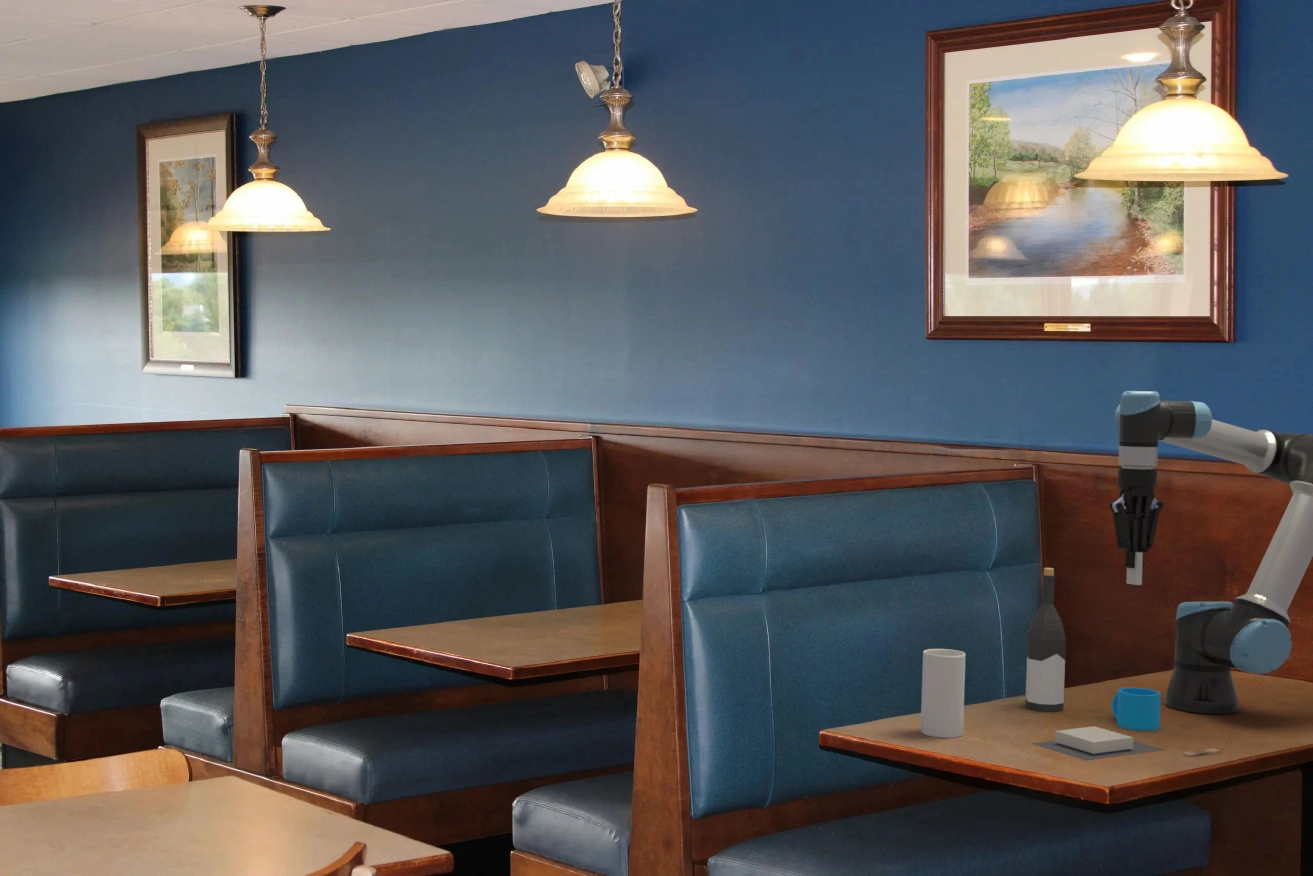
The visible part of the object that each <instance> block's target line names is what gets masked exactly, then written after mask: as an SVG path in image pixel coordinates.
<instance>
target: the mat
mask: <svg viewBox="0 0 1313 876" xmlns="http://www.w3.org/2000/svg"><path fill="white" fill-rule="evenodd" d="M1032 745H1036V746H1038V747H1042V748H1045V749H1049V750H1051V751H1054V752H1058V753H1061V754H1064V755H1068V756H1070V757H1074V758H1076V759H1080V760H1082V761H1083V760H1084V761H1092V760H1098V759H1106V758H1114V757H1121V756H1128V755H1130V756H1131V755H1137V754H1143V753H1144V754H1145V753H1152V752H1159V751H1160V752H1161V751H1165V749H1164V748H1161V747H1157V746H1154V745H1150V744H1147V743H1144V742H1140V741H1137V740H1133V749H1129V750H1126V751H1118V752H1111V753H1103V754H1095V755H1093V754H1089V753H1086V752H1083V751H1080V750H1076V749H1073V748H1070V747H1067V746H1063V745H1060V744H1059V743H1057V742H1055V740H1048V741H1041V742H1032Z"/></svg>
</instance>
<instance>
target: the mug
mask: <svg viewBox="0 0 1313 876" xmlns="http://www.w3.org/2000/svg"><path fill="white" fill-rule="evenodd" d="M1161 694H1162V693H1161V692H1160V691H1159V690H1158V691H1157V690H1154V689H1150V688H1142V687H1121V688H1119V689H1118V690H1117V693H1116V694H1115V695H1114V696H1113V698H1112V702H1111V710H1112V713H1113V716H1114V718H1115V719H1116V725H1117V726H1118V727H1120V728H1123V729H1126V730H1127V729H1128V730H1133V731H1157V730H1159V729H1160V725H1161V724H1160V723H1161V699H1162V698H1161V696H1162V695H1161Z"/></svg>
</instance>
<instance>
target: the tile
mask: <svg viewBox="0 0 1313 876" xmlns="http://www.w3.org/2000/svg"><path fill="white" fill-rule="evenodd" d="M1054 732H1055V733H1054V735H1055V736H1054V741H1055V742H1057V743H1059V744H1060V745H1063V746H1067V747H1070V748H1073V749H1076V750H1080V751H1083V752H1086V753H1089V754H1093V755H1095V754H1103V753H1111V752H1118V751H1126V750H1129V749H1133V741H1134V737H1133V736H1129V735H1127V734H1123V733H1119V732H1117V731H1112V730H1108V729H1105V728H1102V727H1098V726H1096V725H1095V726H1094V725H1093V726H1088V727H1087V726H1086V727H1077V728H1070V729H1062V730H1061V729H1060V730H1059V729H1058V730H1055V731H1054Z"/></svg>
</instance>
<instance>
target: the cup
mask: <svg viewBox="0 0 1313 876" xmlns="http://www.w3.org/2000/svg"><path fill="white" fill-rule="evenodd" d="M921 672H922V673H921V674H922V679H921V703H920V704H921V707H920V708H921V709H920V714H921V715H920V733H921V734H922V733H923V734H922V735H925V736H929V737H933V738H942V739H944V738H947V739H949V738H960V737H962V736H963V735H964V714H965V713H964V710H965V682H966V681H965V680H966V678H965V677H966V652H965V651H962V650H957V649H948V648H947V649H946V648H929V649H925V650H923V651H922V671H921Z"/></svg>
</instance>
